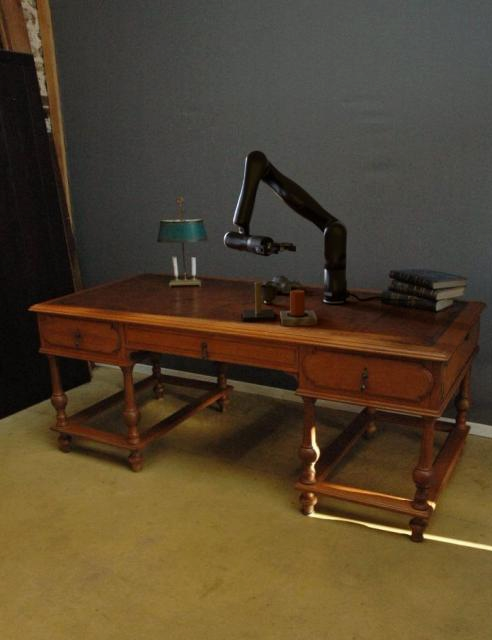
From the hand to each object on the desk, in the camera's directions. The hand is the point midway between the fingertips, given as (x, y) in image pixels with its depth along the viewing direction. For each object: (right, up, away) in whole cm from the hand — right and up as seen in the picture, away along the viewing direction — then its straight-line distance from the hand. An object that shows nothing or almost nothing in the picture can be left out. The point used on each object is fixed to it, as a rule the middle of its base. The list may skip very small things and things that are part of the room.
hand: (286, 250), depth 247 cm
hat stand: (-11, -24, +11) cm, 28 cm away
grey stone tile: (+5, -26, +5) cm, 27 cm away
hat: (+4, -24, +4) cm, 24 cm away
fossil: (0, -6, +55) cm, 55 cm away
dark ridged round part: (-7, -16, +31) cm, 36 cm away
